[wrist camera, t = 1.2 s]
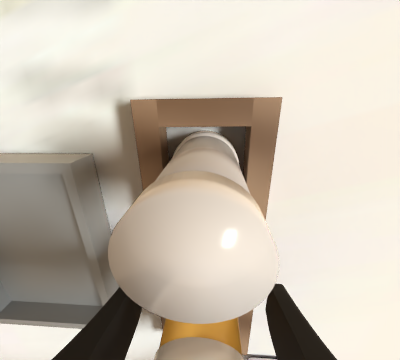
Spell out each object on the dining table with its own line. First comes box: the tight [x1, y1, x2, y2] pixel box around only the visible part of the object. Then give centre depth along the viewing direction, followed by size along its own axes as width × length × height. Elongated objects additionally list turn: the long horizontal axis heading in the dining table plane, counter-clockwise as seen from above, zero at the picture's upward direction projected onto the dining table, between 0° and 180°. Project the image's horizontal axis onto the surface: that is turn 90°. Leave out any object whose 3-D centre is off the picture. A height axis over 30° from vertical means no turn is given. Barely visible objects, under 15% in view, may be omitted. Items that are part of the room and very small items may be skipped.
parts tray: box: [0, 153, 120, 329], centre depth 14 cm, size 14×11×2 cm
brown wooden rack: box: [130, 97, 282, 355], centre depth 13 cm, size 20×7×2 cm, turn 1°
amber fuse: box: [154, 317, 244, 360], centre depth 10 cm, size 4×4×8 cm
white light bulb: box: [108, 131, 279, 324], centre depth 8 cm, size 4×4×8 cm
